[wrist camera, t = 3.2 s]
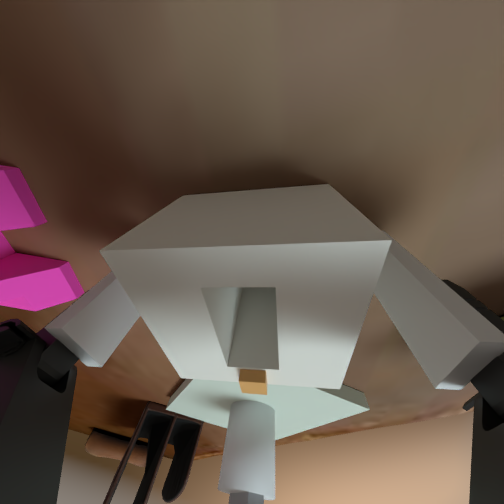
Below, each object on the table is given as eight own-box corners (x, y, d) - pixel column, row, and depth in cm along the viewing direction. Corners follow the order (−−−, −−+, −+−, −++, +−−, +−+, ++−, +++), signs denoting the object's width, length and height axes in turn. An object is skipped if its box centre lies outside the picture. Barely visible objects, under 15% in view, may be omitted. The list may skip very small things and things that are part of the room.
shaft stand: (223, 334, 18) (96, 839, 5) (364, 393, 21) (499, 780, 8) (170, 397, 28) (85, 612, 15) (270, 429, 31) (268, 627, 19)
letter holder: (138, 427, 40) (82, 548, 28) (148, 399, 30) (66, 571, 18) (182, 438, 42) (145, 558, 30) (206, 415, 31) (164, 585, 19)
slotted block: (182, 195, 10) (84, 260, 5) (328, 183, 9) (404, 251, 4) (212, 295, 15) (176, 389, 9) (315, 295, 14) (343, 402, 8)
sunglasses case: (89, 433, 48) (70, 465, 41) (104, 410, 48) (86, 439, 41) (154, 451, 52) (146, 483, 45) (168, 430, 52) (161, 459, 45)
